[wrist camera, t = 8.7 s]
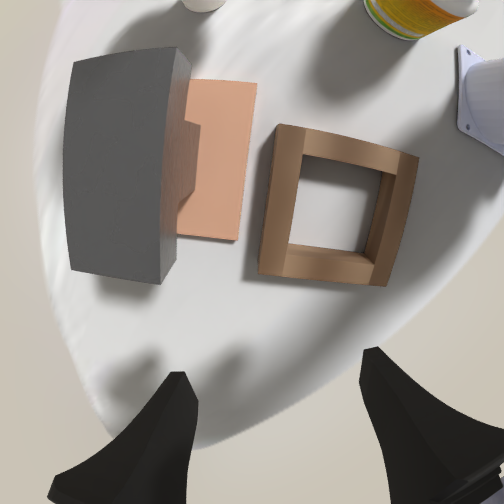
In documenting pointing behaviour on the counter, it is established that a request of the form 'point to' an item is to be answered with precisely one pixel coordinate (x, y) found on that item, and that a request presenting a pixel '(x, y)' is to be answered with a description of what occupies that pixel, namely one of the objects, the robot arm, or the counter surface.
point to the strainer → (203, 5)
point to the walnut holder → (383, 224)
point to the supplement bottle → (417, 15)
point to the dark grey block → (127, 162)
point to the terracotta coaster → (218, 157)
